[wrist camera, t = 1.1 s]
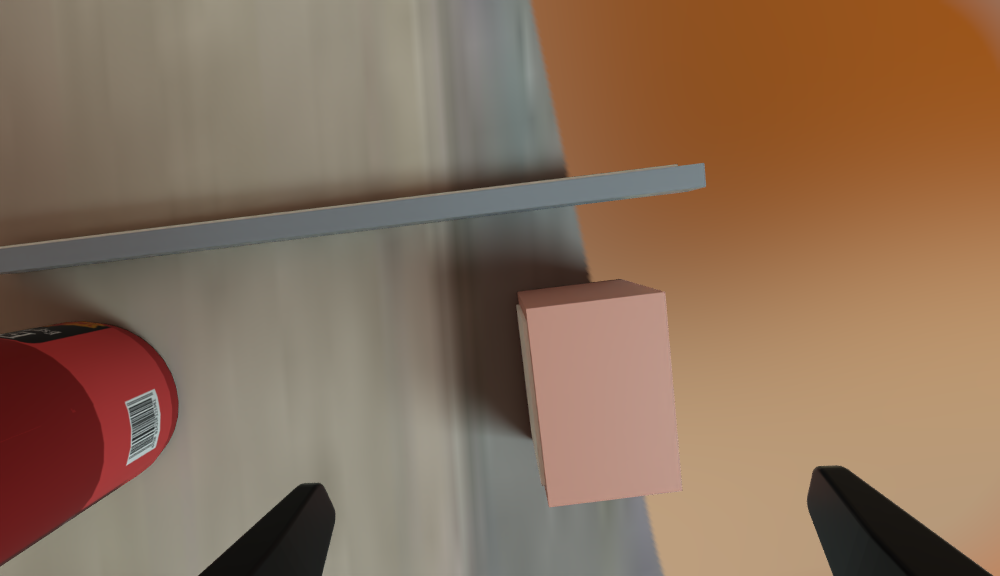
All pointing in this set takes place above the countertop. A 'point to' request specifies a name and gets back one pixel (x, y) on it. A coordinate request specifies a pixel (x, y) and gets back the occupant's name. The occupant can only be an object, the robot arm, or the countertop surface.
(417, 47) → the countertop surface
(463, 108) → the countertop surface
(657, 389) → the salmon pink block
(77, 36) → the countertop surface
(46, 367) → the canned food
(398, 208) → the price rail
